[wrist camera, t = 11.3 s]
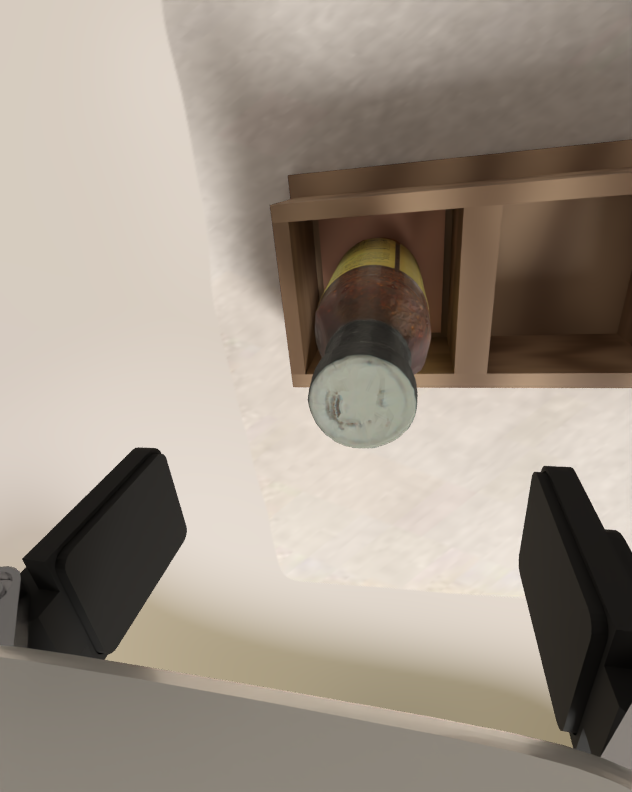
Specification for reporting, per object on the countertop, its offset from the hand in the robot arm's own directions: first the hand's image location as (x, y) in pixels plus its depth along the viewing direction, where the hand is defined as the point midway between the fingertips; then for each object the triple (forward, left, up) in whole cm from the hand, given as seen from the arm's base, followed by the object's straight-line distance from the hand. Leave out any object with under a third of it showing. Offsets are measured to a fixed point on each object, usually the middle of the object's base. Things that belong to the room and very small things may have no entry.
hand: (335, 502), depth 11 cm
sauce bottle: (0, 0, -25) cm, 25 cm away
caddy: (-6, 0, -27) cm, 27 cm away
